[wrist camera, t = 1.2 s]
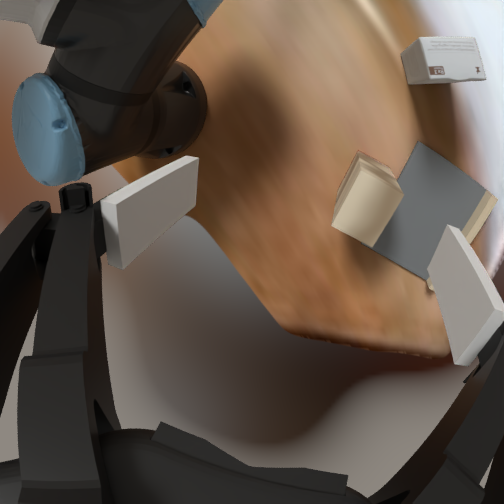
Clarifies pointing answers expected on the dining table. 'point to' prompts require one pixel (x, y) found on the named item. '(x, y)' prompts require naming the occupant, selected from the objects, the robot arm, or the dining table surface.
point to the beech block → (366, 199)
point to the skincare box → (443, 60)
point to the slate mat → (431, 210)
